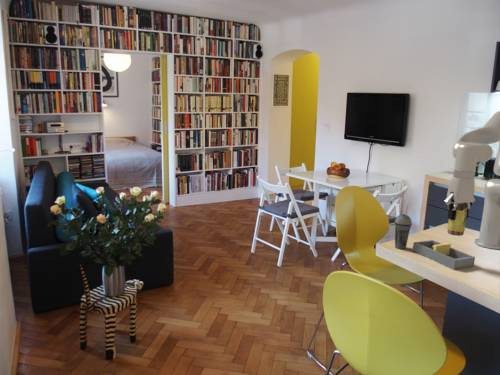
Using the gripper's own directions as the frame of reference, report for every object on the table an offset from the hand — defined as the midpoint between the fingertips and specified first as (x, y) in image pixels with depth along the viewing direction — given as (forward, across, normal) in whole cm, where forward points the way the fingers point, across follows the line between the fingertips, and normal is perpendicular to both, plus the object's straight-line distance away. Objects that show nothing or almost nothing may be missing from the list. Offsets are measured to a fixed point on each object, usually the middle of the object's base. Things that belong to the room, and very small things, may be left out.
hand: (457, 218), depth 166 cm
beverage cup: (+19, +8, -21) cm, 30 cm away
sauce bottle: (+7, 0, 0) cm, 7 cm away
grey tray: (+19, 0, -5) cm, 20 cm away
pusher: (+18, 0, -8) cm, 19 cm away
